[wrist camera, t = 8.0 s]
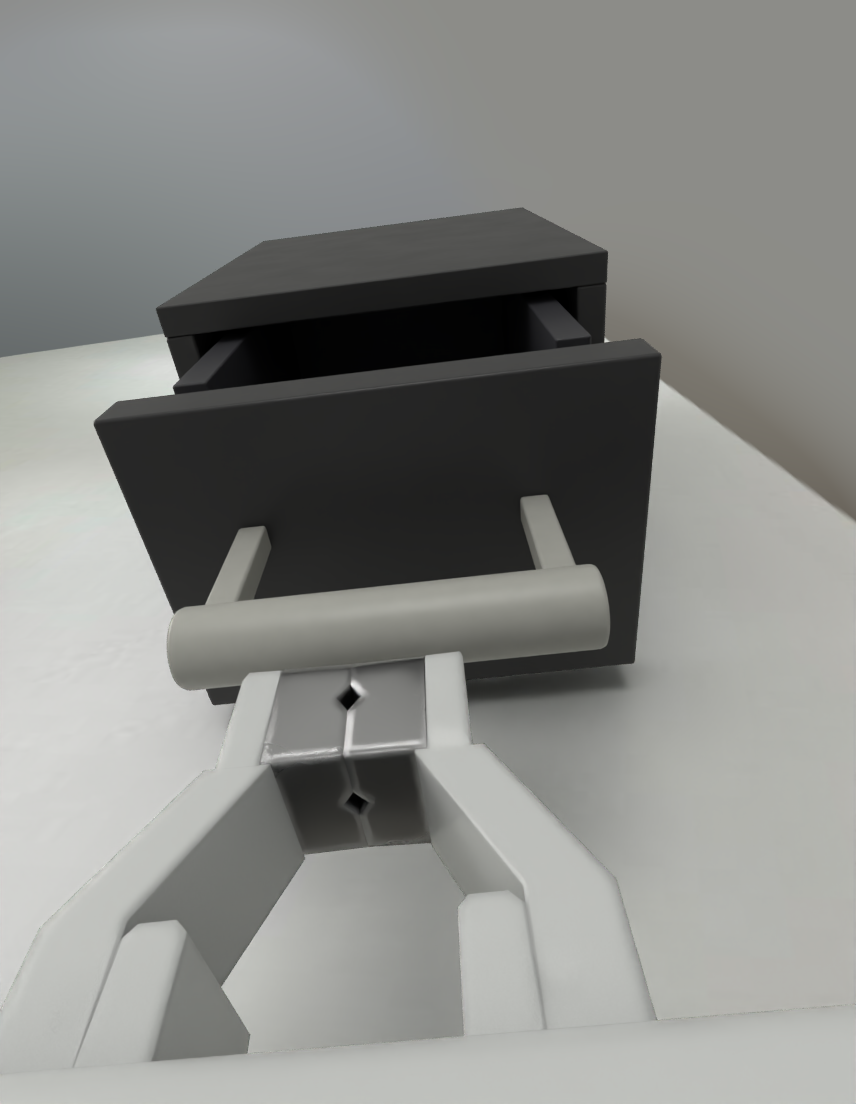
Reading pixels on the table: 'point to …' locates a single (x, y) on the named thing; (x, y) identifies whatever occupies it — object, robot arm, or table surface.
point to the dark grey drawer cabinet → (389, 276)
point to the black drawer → (397, 492)
